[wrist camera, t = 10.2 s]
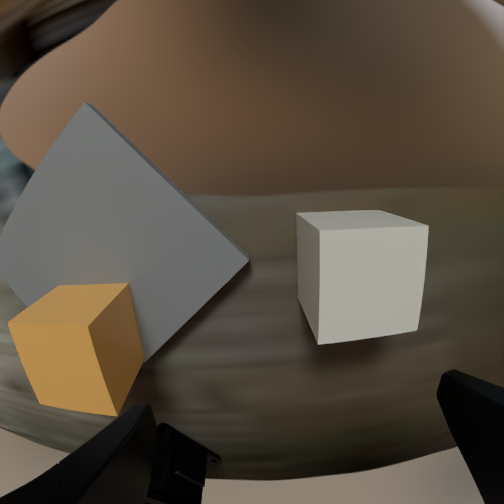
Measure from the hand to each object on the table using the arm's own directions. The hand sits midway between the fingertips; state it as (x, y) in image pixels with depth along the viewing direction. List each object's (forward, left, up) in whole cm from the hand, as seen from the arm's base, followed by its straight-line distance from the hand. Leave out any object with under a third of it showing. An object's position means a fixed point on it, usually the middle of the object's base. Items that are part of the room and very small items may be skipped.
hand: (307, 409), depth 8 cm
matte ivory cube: (+4, -2, -12) cm, 13 cm away
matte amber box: (-10, +6, -11) cm, 16 cm away
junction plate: (-7, +9, -12) cm, 17 cm away
